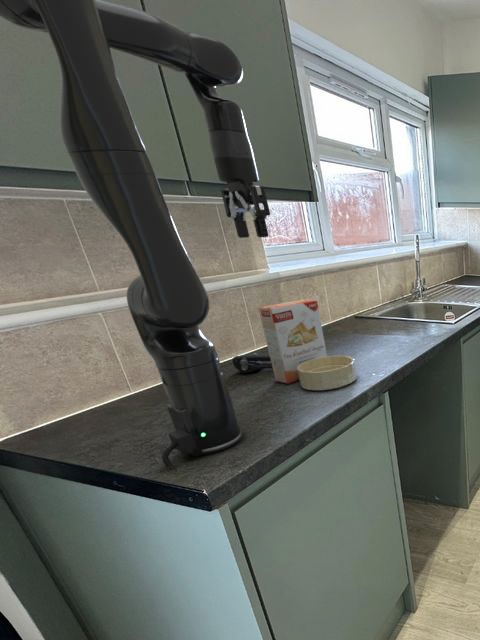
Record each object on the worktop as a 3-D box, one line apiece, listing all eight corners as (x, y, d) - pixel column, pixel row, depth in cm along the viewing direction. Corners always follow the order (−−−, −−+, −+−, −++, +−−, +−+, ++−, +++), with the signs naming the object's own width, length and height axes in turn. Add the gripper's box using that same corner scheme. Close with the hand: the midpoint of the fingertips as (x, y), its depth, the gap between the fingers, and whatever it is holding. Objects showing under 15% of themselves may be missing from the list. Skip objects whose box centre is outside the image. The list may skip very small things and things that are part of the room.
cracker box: (289, 385, 113) (270, 308, 105) (275, 381, 116) (256, 307, 108) (331, 369, 124) (317, 299, 117) (317, 366, 127) (303, 298, 119)
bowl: (322, 396, 105) (318, 375, 103) (290, 386, 112) (286, 367, 110) (367, 378, 116) (364, 360, 114) (336, 370, 123) (332, 352, 121)
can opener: (231, 376, 121) (225, 358, 119) (241, 369, 127) (236, 351, 125) (295, 372, 123) (291, 354, 121) (302, 364, 129) (298, 347, 127)
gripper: (269, 156, 88) (286, 236, 94) (236, 162, 96) (253, 236, 102) (231, 152, 83) (252, 238, 89) (199, 159, 90) (220, 238, 96)
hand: (253, 237), depth 95 cm, fingers open, 8 cm apart
